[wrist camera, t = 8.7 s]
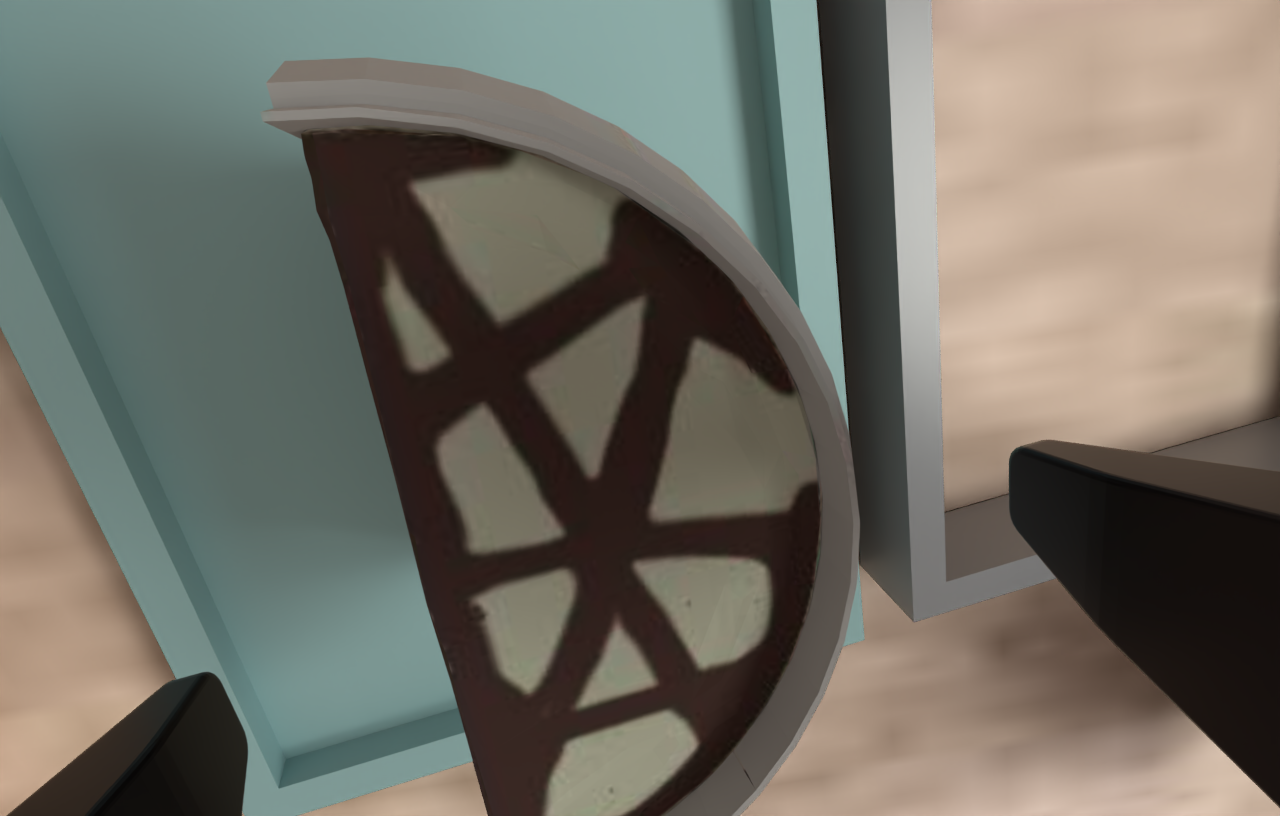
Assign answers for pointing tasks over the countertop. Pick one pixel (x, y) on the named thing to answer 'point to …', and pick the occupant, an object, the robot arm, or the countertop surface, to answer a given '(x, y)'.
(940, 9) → the countertop surface
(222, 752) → the robot arm
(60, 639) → the countertop surface
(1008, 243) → the countertop surface
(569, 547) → the food container
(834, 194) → the grey rectangular frame
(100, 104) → the tray
